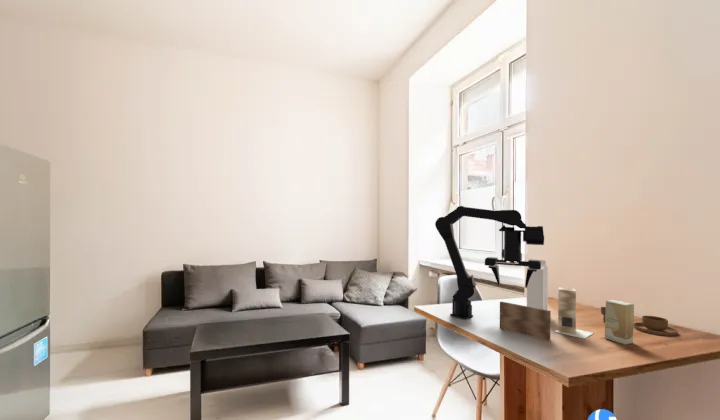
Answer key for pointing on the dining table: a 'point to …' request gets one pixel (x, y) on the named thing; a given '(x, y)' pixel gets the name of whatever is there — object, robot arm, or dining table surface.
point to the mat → (577, 333)
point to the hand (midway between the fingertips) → (512, 286)
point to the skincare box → (619, 321)
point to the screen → (525, 320)
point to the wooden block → (567, 310)
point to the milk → (538, 288)
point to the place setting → (651, 325)
